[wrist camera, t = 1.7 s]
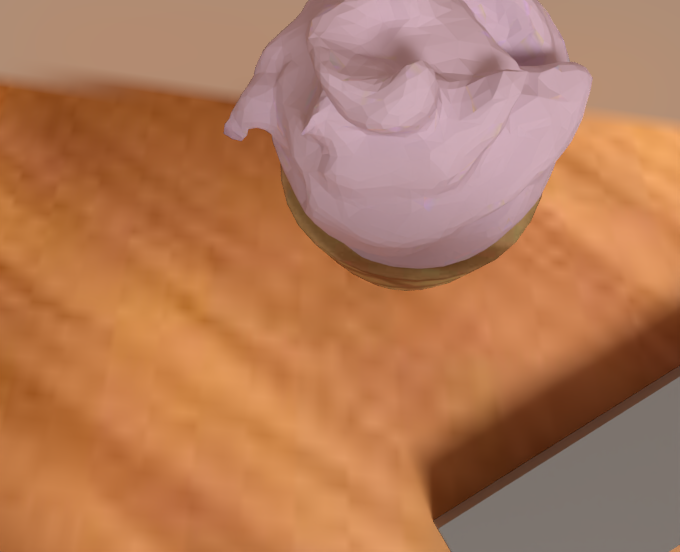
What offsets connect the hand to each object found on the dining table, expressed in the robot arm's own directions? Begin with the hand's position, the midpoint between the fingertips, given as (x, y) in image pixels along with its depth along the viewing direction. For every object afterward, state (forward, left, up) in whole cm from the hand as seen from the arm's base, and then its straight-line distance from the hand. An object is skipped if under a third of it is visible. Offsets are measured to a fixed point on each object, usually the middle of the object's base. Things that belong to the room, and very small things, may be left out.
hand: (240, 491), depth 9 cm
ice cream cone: (+6, +5, -14) cm, 16 cm away
